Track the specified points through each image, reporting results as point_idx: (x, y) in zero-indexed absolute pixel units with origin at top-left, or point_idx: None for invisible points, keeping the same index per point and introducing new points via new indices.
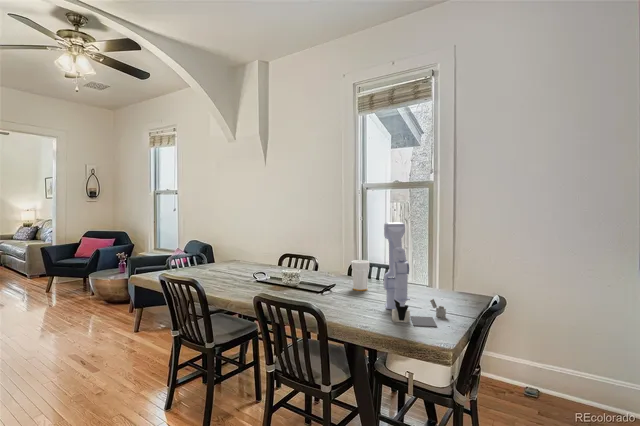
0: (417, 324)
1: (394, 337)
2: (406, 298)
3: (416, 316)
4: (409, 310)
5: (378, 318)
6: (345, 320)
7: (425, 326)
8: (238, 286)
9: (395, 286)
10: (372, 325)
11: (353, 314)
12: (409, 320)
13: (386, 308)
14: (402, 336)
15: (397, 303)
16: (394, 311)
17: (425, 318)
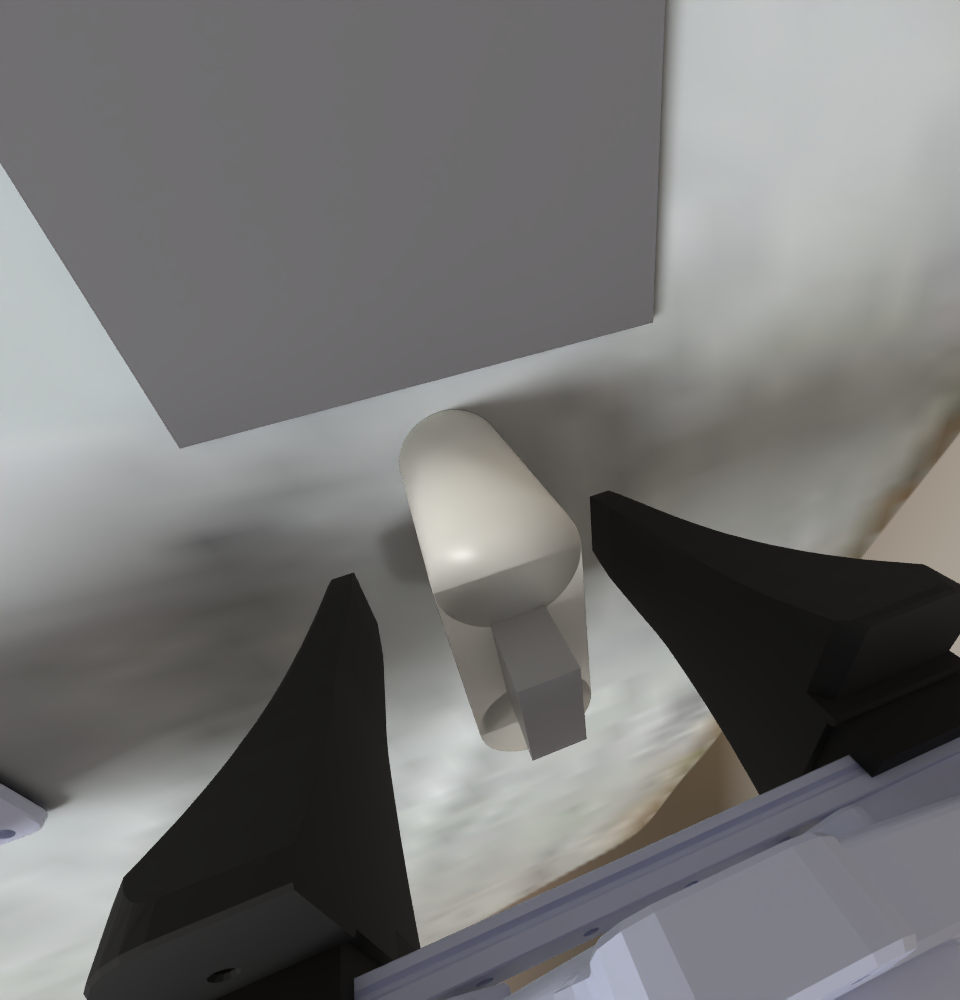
0: (622, 253)
1: (922, 465)
2: (941, 980)
3: (114, 319)
4: (492, 513)
5: (468, 722)
6: (585, 821)
7: (649, 65)
8: None
9: None
10: (660, 683)
11: (441, 859)
12: (475, 419)
13: (44, 822)
14: (923, 403)
15: (393, 843)
16: (583, 695)
17: (115, 23)
